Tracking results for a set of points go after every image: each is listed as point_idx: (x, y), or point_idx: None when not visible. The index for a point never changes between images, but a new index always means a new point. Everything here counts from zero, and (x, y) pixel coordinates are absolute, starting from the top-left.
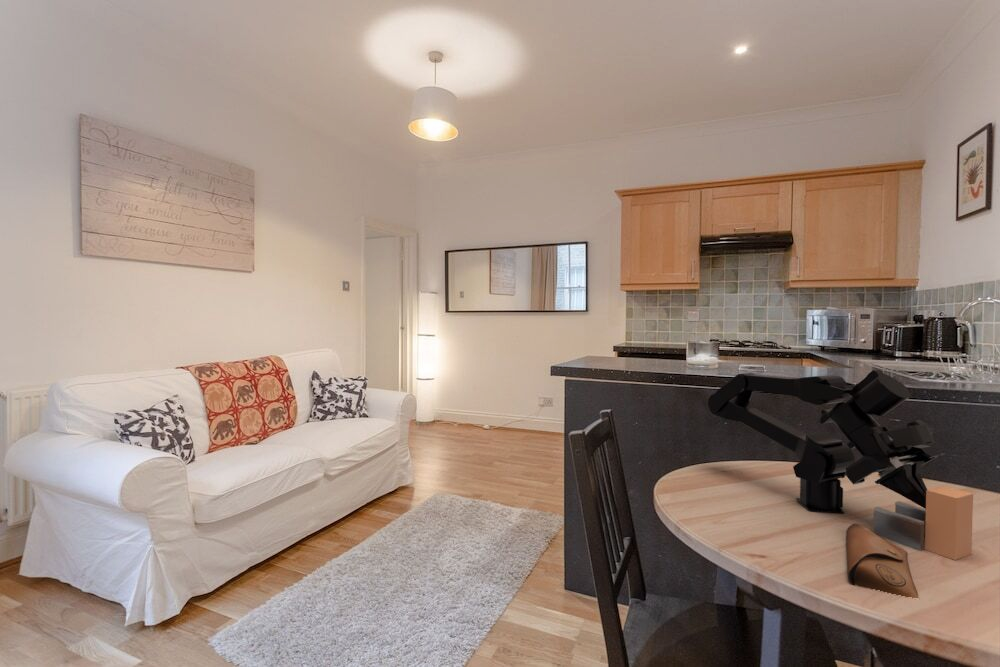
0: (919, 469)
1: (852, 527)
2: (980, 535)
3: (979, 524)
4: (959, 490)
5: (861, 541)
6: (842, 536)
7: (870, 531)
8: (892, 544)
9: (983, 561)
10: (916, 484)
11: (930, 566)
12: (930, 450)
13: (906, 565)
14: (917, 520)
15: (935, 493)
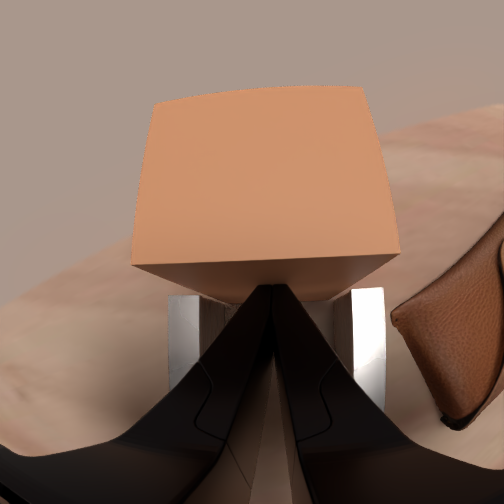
0: (110, 465)
1: (487, 404)
2: (69, 287)
3: (18, 317)
4: (149, 158)
5: None
6: (440, 437)
7: None
8: (454, 314)
9: None
10: (315, 384)
11: (413, 236)
12: None
13: (502, 229)
14: (365, 310)
15: (389, 191)
